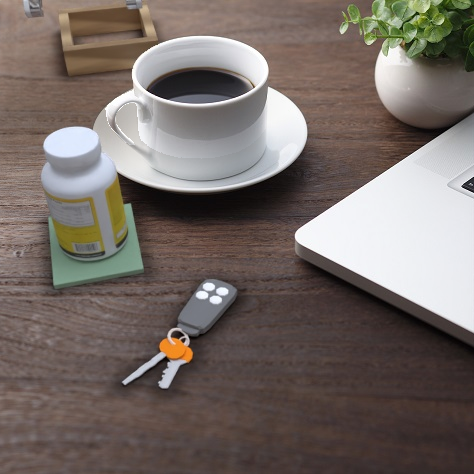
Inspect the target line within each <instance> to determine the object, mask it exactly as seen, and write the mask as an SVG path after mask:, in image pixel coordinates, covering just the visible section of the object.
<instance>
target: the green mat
mask: <svg viewBox="0 0 474 474" xmlns="http://www.w3.org/2000/svg"><path fill="white" fill-rule="evenodd" d="M123 205H124V210H125V216H126V221H127V226H128V238H127V241H126V243H125V244H124V246H123V247H122V248H121V249H120V250H119V251H117V252H116V253H114V254H113V255H111V256H109V257H106V258H103V259H99V260H93V261H83V260H77V259H74V258H71V257H69V256H68V255H66V254H65V253H64V252H63V251H62V249H61V248H60V246H59V243H58V240H57V236H56V233H55V229H54V226H53V222H52V218H51V215H50V216H48V217H47V219H48V222H47V223H48V233H49V244H50V258H51V271H52V284H53V285H52V286H53V288H54V290H60V289H64V288H69V287H75V286H81V285H86V284H90V283H97V282H101V281H107V280H112V279H119V278H123V277H124V278H125V277H128V276H134V275H140V274H144V273H145V270H144V263H143V259H142V253H141V247H140V243H139V237H138V232H137V228H136V222H135V218H134V212H133V207H132V203H131V202H130V203H123Z"/></svg>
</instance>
